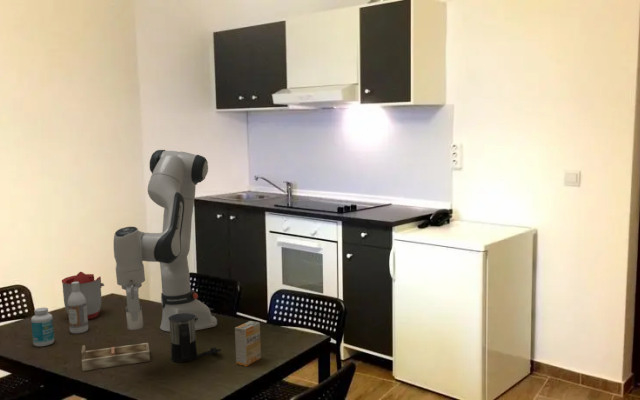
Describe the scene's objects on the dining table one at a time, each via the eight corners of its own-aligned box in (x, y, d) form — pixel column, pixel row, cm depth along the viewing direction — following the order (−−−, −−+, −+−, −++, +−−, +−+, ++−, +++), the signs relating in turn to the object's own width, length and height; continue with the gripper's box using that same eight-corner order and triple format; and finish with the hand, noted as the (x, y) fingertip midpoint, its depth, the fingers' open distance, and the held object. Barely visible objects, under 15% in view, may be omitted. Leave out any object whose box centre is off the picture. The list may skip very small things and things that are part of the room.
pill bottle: (46, 347, 230) (43, 312, 229) (29, 346, 232) (25, 311, 230) (58, 340, 238) (55, 306, 236) (41, 339, 239) (38, 305, 237)
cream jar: (143, 323, 208) (141, 303, 207) (143, 328, 203) (141, 307, 202) (127, 325, 206) (125, 305, 205) (127, 330, 202) (125, 310, 200)
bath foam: (66, 333, 246) (61, 284, 243) (77, 327, 252) (73, 279, 250) (80, 334, 244) (76, 285, 241) (92, 328, 250) (88, 280, 248)
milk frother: (166, 356, 218) (164, 316, 217) (207, 346, 228) (205, 307, 226) (183, 369, 207) (180, 326, 205) (225, 357, 216) (223, 316, 214)
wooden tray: (148, 352, 223) (147, 336, 222) (150, 361, 215) (149, 344, 214) (83, 361, 216) (82, 344, 216) (82, 370, 208) (81, 353, 207)
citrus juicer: (114, 314, 268) (110, 269, 265) (76, 325, 255) (72, 278, 252) (95, 308, 278) (92, 264, 275) (58, 318, 265) (54, 272, 262)
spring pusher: (114, 354, 218) (114, 346, 218) (115, 361, 212) (114, 352, 212) (111, 355, 218) (111, 347, 218) (112, 361, 212) (111, 353, 212)
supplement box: (247, 367, 207) (245, 329, 206) (235, 364, 210) (234, 327, 208) (262, 358, 214) (260, 322, 213) (251, 356, 217) (249, 320, 215)
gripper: (141, 283, 193) (146, 326, 195) (139, 268, 213) (143, 307, 215) (120, 286, 192) (125, 329, 194) (120, 271, 211) (124, 310, 213)
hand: (134, 317), depth 204 cm, fingers closed on cream jar, 5 cm apart
